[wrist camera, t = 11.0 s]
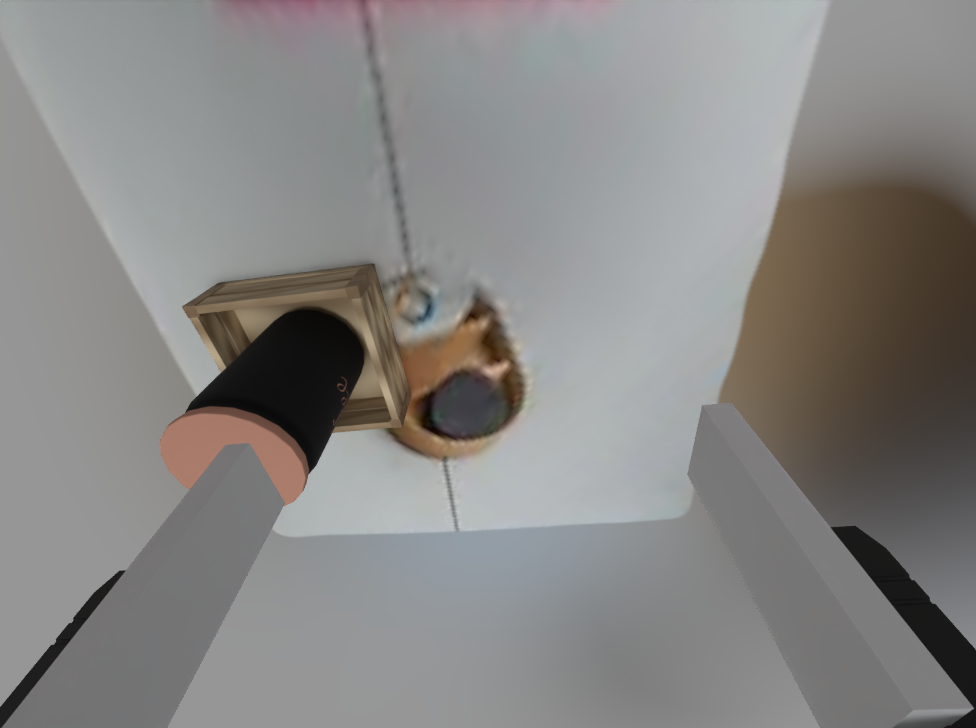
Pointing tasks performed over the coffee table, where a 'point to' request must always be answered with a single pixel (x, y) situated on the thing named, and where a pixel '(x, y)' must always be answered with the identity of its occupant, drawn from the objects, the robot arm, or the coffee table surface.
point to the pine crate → (338, 292)
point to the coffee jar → (272, 402)
